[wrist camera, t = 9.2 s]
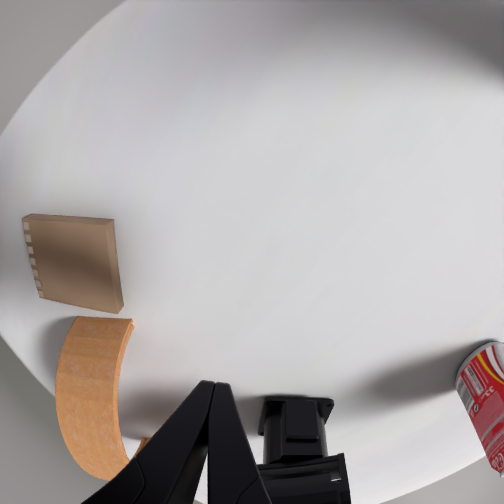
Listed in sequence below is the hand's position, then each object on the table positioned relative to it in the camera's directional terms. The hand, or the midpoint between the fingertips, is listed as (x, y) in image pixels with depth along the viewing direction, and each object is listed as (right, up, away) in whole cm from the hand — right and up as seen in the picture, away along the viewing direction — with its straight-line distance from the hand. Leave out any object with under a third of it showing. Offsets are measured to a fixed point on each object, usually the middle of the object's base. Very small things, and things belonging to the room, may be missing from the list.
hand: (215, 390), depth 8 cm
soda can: (+25, -7, +15) cm, 30 cm away
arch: (-10, -10, +19) cm, 24 cm away
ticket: (-13, +3, +12) cm, 18 cm away
